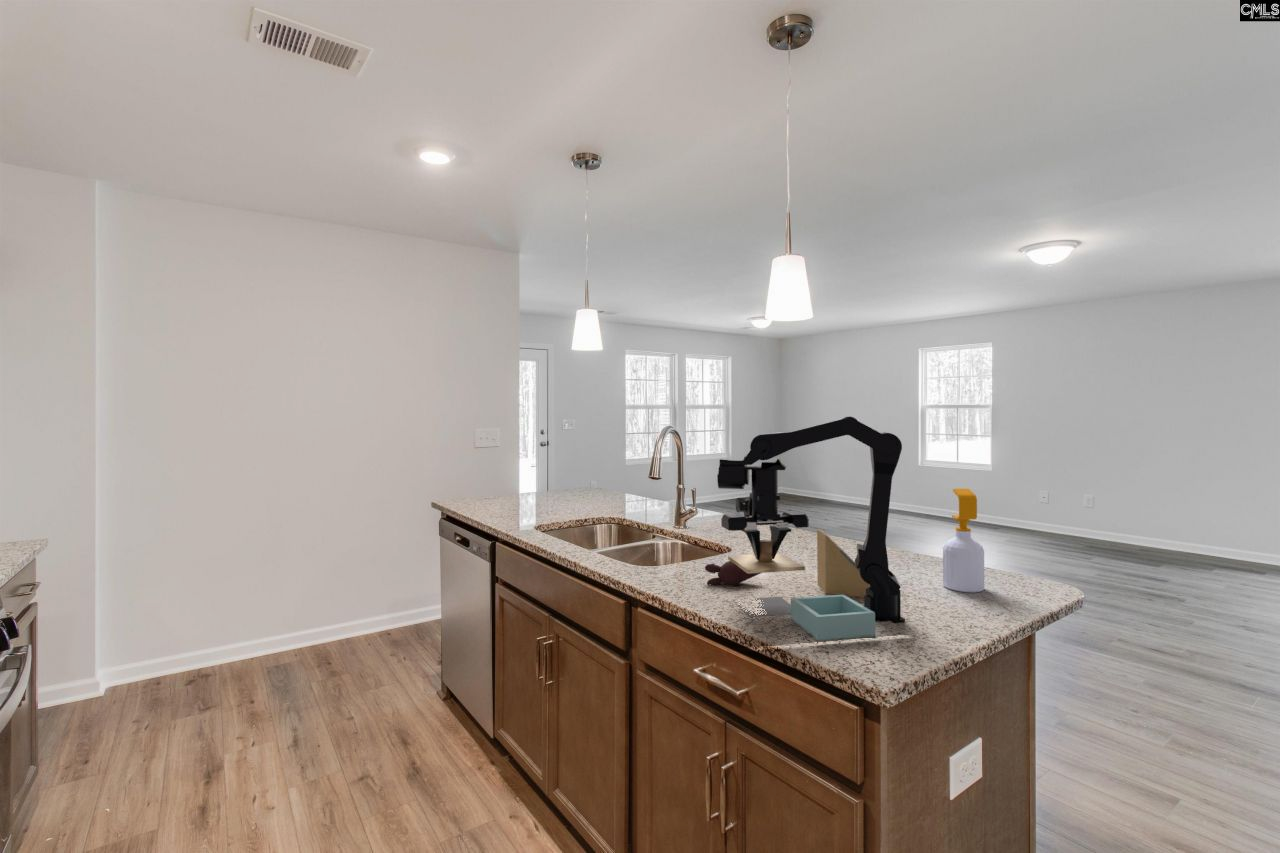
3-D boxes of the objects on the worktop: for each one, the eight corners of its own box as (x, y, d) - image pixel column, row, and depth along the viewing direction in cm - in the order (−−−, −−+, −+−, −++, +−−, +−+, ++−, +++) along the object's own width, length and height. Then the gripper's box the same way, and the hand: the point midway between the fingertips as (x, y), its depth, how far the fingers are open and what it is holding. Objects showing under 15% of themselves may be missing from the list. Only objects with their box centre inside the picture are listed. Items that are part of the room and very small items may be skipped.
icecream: (760, 556, 157) (703, 562, 157) (764, 556, 150) (705, 561, 150) (763, 584, 155) (706, 589, 155) (768, 584, 148) (708, 590, 148)
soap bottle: (973, 582, 153) (973, 487, 152) (991, 593, 144) (991, 491, 143) (937, 582, 154) (936, 487, 153) (952, 592, 144) (951, 491, 144)
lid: (780, 556, 142) (780, 534, 141) (805, 570, 129) (804, 546, 129) (728, 559, 139) (727, 536, 139) (747, 573, 127) (747, 549, 126)
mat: (780, 599, 141) (779, 596, 141) (802, 615, 129) (802, 613, 129) (731, 602, 139) (731, 599, 139) (749, 619, 127) (749, 616, 127)
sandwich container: (891, 597, 142) (890, 534, 142) (825, 597, 143) (825, 534, 143) (878, 587, 151) (878, 528, 150) (817, 586, 152) (816, 528, 151)
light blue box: (843, 617, 128) (843, 594, 128) (875, 638, 116) (875, 612, 116) (791, 621, 126) (790, 598, 126) (817, 643, 114) (817, 617, 114)
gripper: (788, 484, 143) (788, 549, 144) (713, 486, 140) (714, 553, 140) (809, 490, 132) (810, 560, 133) (729, 492, 129) (729, 564, 129)
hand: (765, 559), depth 134 cm, fingers closed on lid, 3 cm apart
